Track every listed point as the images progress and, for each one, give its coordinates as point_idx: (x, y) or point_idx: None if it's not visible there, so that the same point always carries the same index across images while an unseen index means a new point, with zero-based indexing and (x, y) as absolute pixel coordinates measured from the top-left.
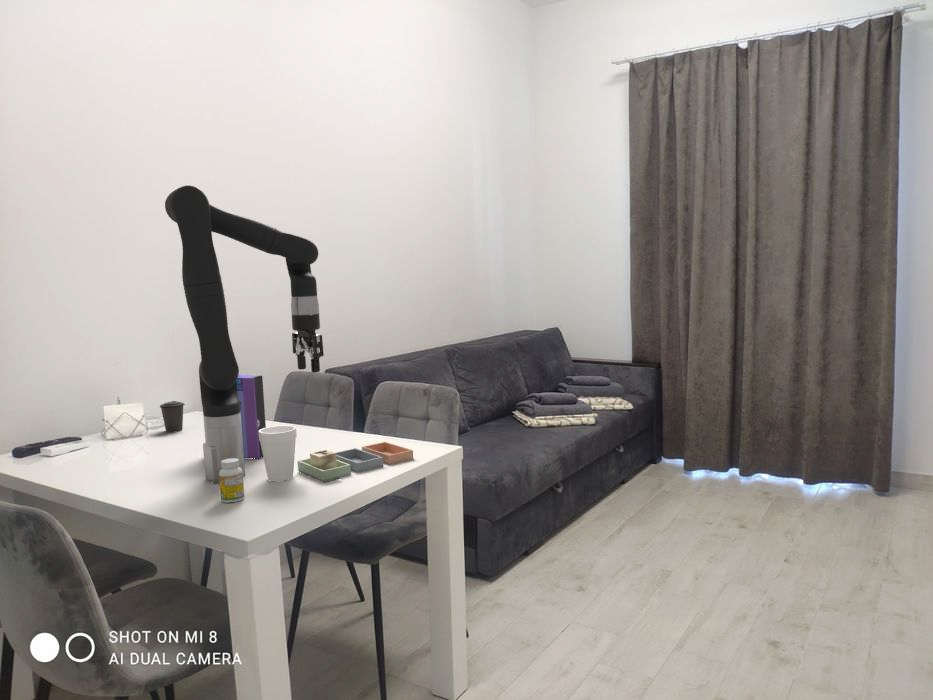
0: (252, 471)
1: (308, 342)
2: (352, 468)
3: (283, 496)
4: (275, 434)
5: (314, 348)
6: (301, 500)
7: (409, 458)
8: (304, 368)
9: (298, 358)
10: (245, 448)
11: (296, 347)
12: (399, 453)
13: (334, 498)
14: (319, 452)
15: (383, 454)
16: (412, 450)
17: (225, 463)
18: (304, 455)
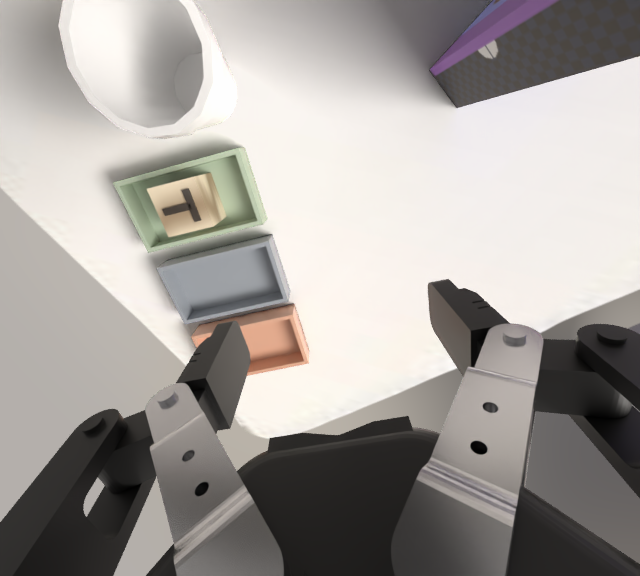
0: (311, 23)
1: (162, 560)
2: (182, 258)
3: (43, 59)
4: (60, 27)
5: (29, 498)
6: (2, 95)
7: None
8: (431, 317)
9: (461, 323)
10: (478, 20)
11: (505, 389)
12: None
13: (5, 170)
14: (186, 200)
15: (210, 332)
16: None
17: None
18: (386, 199)
